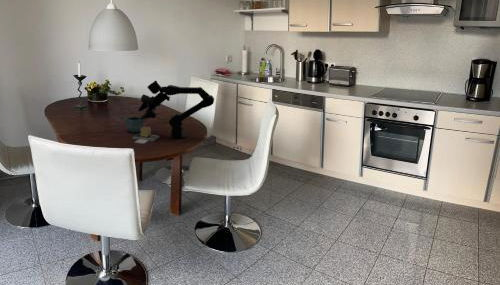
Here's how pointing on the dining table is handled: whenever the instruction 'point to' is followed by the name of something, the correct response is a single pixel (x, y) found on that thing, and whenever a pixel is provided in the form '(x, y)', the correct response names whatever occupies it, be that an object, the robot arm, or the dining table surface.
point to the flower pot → (134, 124)
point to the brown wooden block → (146, 132)
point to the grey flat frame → (152, 138)
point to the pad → (141, 141)
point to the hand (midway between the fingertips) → (139, 114)
